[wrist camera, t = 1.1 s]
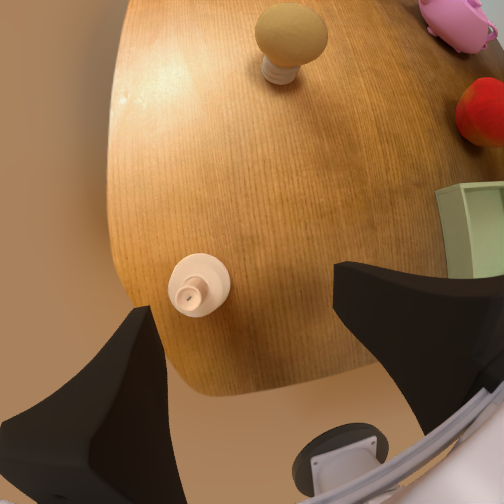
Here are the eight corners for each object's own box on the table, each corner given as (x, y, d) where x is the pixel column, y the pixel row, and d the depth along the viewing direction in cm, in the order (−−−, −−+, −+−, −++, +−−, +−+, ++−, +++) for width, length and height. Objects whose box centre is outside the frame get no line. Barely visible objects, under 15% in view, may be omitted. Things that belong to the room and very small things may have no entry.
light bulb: (303, 57, 26) (330, -2, 16) (308, 100, 26) (344, 42, 16) (247, 52, 26) (258, -13, 16) (247, 95, 26) (261, 29, 16)
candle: (222, 247, 25) (223, 239, 15) (236, 304, 25) (247, 336, 15) (165, 260, 24) (128, 263, 14) (180, 317, 24) (154, 356, 14)
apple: (488, 157, 29) (544, 136, 17) (457, 159, 28) (522, 133, 16) (466, 101, 29) (516, 72, 17) (432, 96, 28) (487, 58, 16)
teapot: (397, 22, 28) (433, -21, 16) (389, -14, 29) (415, -51, 17) (481, 79, 30) (521, 54, 18) (467, 35, 31) (498, 10, 19)
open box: (509, 271, 30) (530, 272, 25) (449, 300, 28) (474, 304, 23) (497, 185, 29) (518, 180, 25) (434, 191, 28) (459, 183, 23)
